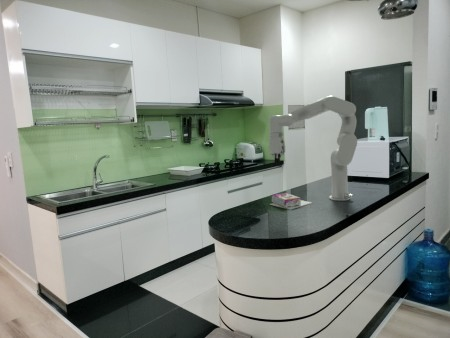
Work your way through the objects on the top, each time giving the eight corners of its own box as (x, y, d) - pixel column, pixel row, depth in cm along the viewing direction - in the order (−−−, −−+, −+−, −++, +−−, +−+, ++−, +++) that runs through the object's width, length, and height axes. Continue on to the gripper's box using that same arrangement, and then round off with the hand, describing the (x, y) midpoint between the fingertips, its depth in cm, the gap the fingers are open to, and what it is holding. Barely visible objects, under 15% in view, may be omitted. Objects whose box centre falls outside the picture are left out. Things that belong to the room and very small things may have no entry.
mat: (312, 203, 209) (312, 202, 209) (290, 209, 197) (290, 208, 197) (291, 198, 222) (291, 198, 222) (269, 204, 210) (269, 204, 210)
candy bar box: (286, 192, 218) (301, 197, 203) (286, 199, 218) (301, 205, 203) (271, 194, 214) (284, 199, 199) (271, 202, 214) (284, 208, 199)
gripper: (289, 134, 208) (290, 164, 211) (271, 134, 220) (273, 162, 223) (280, 135, 204) (282, 165, 206) (263, 135, 216) (265, 164, 218)
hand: (277, 164), depth 215 cm, fingers closed
